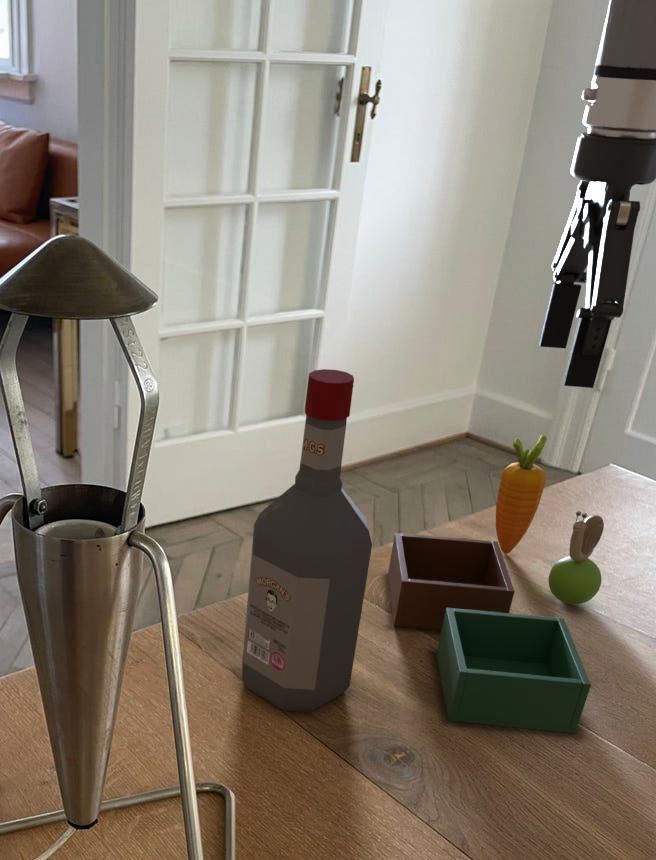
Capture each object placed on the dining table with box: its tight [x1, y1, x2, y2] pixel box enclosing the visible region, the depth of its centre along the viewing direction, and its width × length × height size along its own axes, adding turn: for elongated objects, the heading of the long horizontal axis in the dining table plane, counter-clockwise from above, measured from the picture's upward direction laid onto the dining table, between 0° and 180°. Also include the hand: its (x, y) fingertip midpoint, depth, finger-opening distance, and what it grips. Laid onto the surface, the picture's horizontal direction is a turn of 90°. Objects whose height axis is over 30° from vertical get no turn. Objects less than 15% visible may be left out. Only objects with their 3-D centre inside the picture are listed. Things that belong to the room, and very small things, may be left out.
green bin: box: [435, 608, 592, 734], centre depth 92 cm, size 11×11×6 cm
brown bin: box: [387, 532, 515, 631], centre depth 106 cm, size 11×11×6 cm
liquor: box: [241, 368, 373, 713], centre depth 85 cm, size 9×9×30 cm
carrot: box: [495, 434, 548, 555], centre depth 114 cm, size 5×5×15 cm
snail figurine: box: [548, 510, 605, 605], centre depth 105 cm, size 5×6×12 cm
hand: (564, 365), depth 99 cm, fingers open, 13 cm apart
